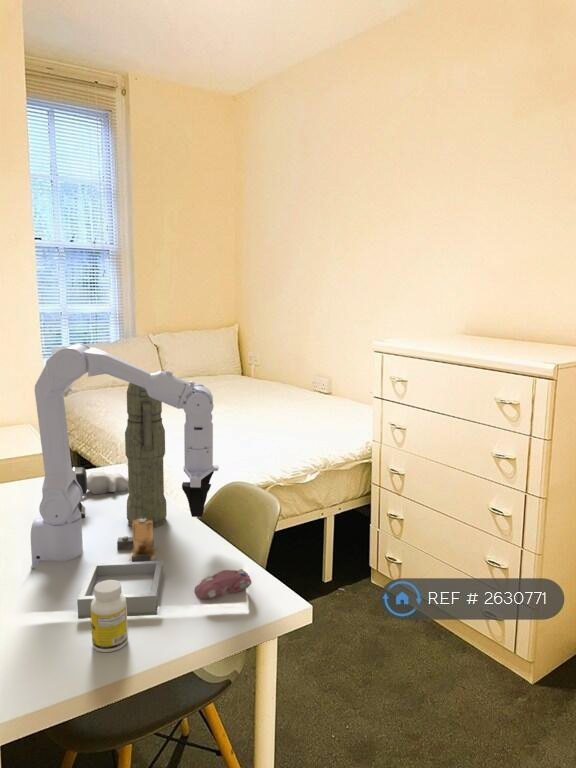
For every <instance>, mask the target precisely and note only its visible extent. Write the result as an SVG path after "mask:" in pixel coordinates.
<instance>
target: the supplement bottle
mask: <svg viewBox="0 0 576 768" xmlns="http://www.w3.org/2000/svg"><path fill="white" fill-rule="evenodd" d="M93 588H94V589H93V591H94V593H93V596H95V598H94V599H93V600H92V602H91V618H90V622H91V623H90V624H91V637H92V638H91V639H92V646H93V648H94V649H95V650H96V651H97V652H100V653H111V652H115V651H116V652H117V651H118V650H120V649H122V648H123V647H124V646H126V644H127V642H128V640H129V639H128V638H129V633H128V632H129V631H128V629H129V628H128V616H127V605H126V598H125V596H124V595H123V594H122V583H121V581H118V580H116V579H106V580H102V581H100V582H98V583H97V584H96V583H95V585H94V587H93Z"/></svg>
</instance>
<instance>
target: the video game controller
mask: <svg viewBox="0 0 576 768" xmlns="http://www.w3.org/2000/svg"><path fill="white" fill-rule="evenodd" d="M251 584H252V579H251V577H250V575H249V574H248V573H247V571H245V570H244V569H242V568H240V569H238V570H234V569H232V570H231V569H225V570H221V571H219V572H217V573H215V574H213V575H208V576H206V578H204V579H202V580H201V581H200V582H199V584H197V585H196V586H195V587H194V590H193V592H194V594H195V596H196V597H198V598H199V599H201V600H202V599H206V600H207V599H209V600H210V599H212V598H215V597H221V596H223V592H222V590H225V592H226V593H227V594H234V593H237V592H242V591H244V590H246V589H248V588H249V587H250V586H251Z"/></svg>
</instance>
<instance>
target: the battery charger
mask: <svg viewBox="0 0 576 768" xmlns="http://www.w3.org/2000/svg"><path fill="white" fill-rule="evenodd" d="M72 469H73V471H74V472H75V474H76V480H77V482H78V484H79V485H80V486H81V488H82V492H83V495H86V493H87V492H88V489H87V477H88V476H87V470H86V468H85V467H83V466H82V467H81V466H79V467H76V466H73V467H72ZM77 505H78V508H79V510H80V512H81V519H83V518H85V516H86V507H85V506H84V505H83V504H82V502H81V501H80V502H79V504H77Z"/></svg>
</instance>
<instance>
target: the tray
mask: <svg viewBox="0 0 576 768" xmlns="http://www.w3.org/2000/svg"><path fill="white" fill-rule="evenodd" d="M163 568H164V567H163V560H151V561H143V562H132V561H122V562H120V561H119V562H117V561H116V562H97V563H95V562H94V563H93V562H92V564H91V567H90V569H89V571H88V574H87V576H86V578H85V580H84V583H83V584H82V587H81V590H80V592H79V594H78V597H77V603H76V604H77V617H78V618H77V619H91V602H92V600H93V599H94V598H95V595H91V593H92V592H93V590H94V589H93V588H94V587H95V585H96V581H97V578H98V577H114V576H116V577H117V576H139V575H142V576H143V575H153V580H152V586H151V590H150V592H148V593H147V592H145V593H127V594H126V593H124V594H123V595H124V596H125V598H126V605H127V617H133V616H134V617H136V616H138V617H139V616H154V615H155V616H157V613H158V607H159V606H158V599H159V594H160V588H161V582H162V577H163V570H164V569H163Z"/></svg>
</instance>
